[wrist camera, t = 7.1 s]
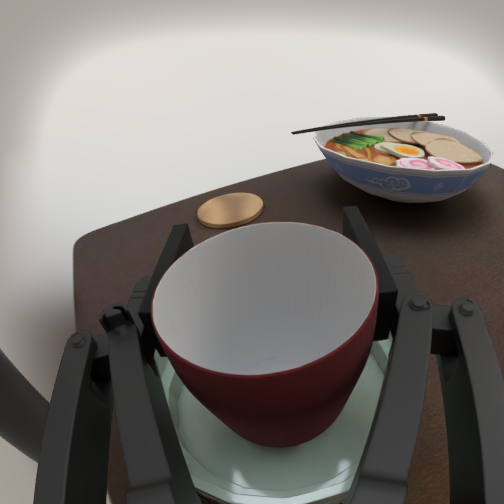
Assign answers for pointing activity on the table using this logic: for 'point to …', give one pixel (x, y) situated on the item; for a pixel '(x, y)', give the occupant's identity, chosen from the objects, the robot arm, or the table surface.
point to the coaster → (230, 210)
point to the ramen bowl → (403, 156)
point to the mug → (270, 327)
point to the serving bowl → (275, 459)
